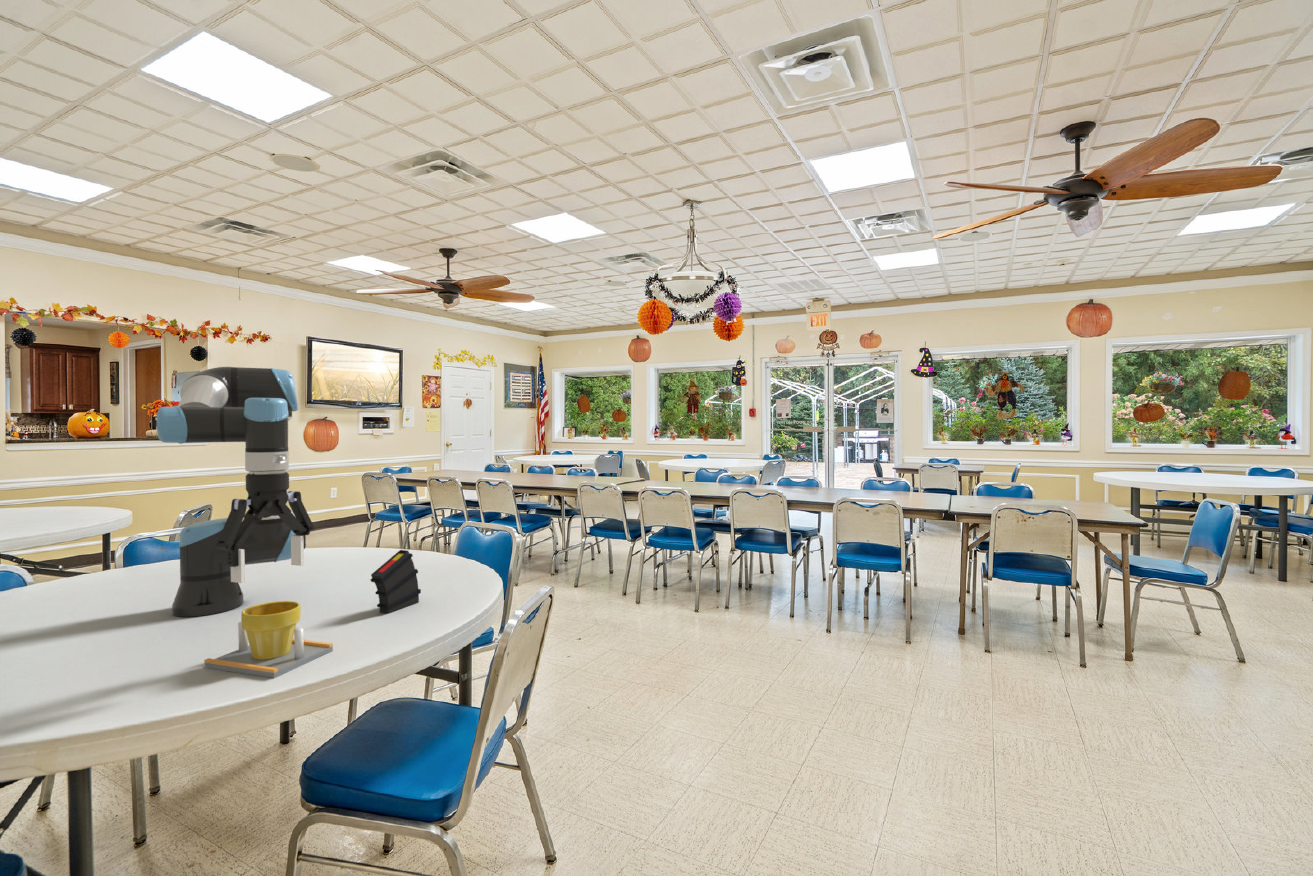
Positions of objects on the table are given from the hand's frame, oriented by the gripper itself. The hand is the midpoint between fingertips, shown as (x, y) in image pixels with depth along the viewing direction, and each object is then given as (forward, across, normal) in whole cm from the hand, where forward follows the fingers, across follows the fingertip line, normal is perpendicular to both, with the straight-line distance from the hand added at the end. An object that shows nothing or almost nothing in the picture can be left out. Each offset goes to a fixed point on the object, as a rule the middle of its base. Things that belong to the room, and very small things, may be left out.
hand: (269, 573), depth 121 cm
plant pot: (+17, 0, -1) cm, 17 cm away
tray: (+18, 0, 0) cm, 18 cm away
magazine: (+19, +35, -2) cm, 39 cm away
